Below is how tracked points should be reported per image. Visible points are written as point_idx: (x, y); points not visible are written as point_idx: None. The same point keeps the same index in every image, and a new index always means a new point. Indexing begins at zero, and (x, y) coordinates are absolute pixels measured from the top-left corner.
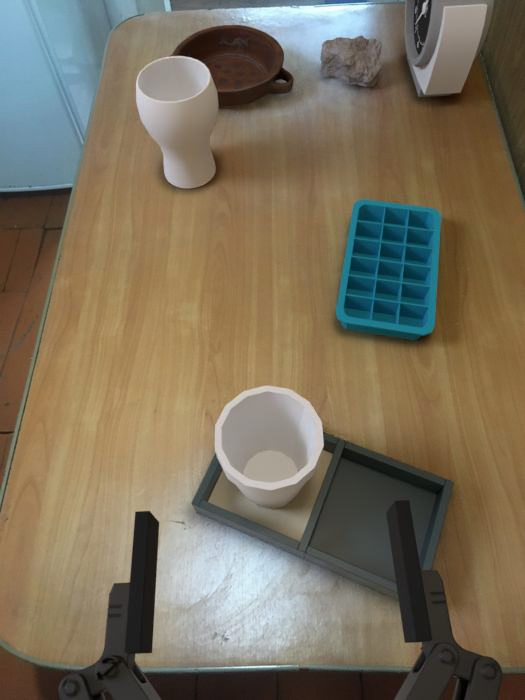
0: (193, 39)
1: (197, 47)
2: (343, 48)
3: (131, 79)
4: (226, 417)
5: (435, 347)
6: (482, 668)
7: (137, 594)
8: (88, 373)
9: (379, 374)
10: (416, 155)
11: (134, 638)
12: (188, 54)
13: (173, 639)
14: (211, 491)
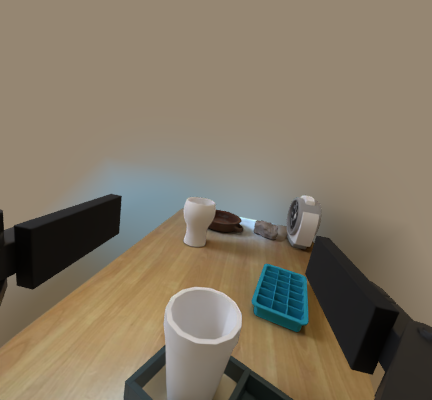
0: None
1: None
2: (263, 223)
3: (182, 217)
4: (180, 295)
5: (309, 339)
6: None
7: (71, 210)
8: (106, 295)
9: (274, 344)
10: (292, 261)
11: (37, 223)
12: None
13: None
14: (143, 385)
